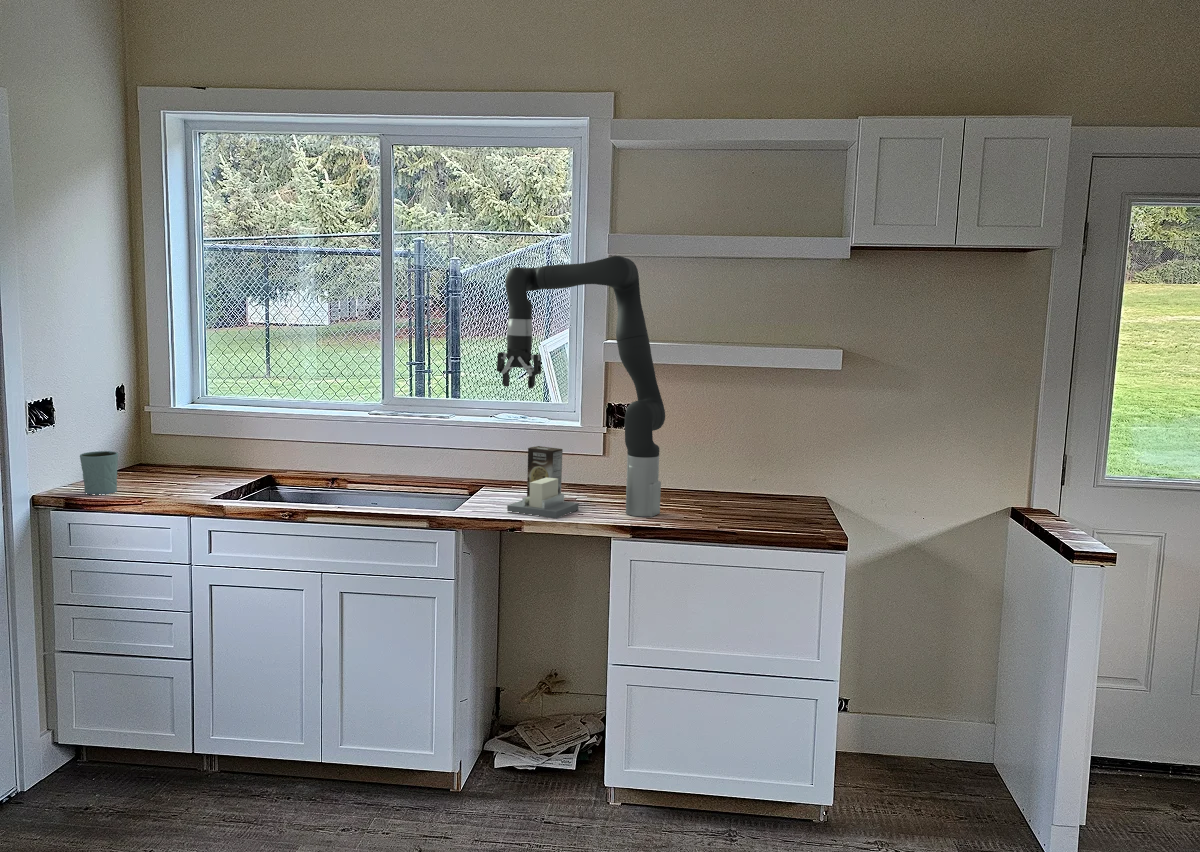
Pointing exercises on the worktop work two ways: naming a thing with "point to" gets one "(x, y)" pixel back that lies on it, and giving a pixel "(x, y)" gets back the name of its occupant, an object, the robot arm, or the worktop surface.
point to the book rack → (545, 507)
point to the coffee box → (544, 465)
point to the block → (542, 491)
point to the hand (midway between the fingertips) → (518, 387)
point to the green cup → (99, 472)
